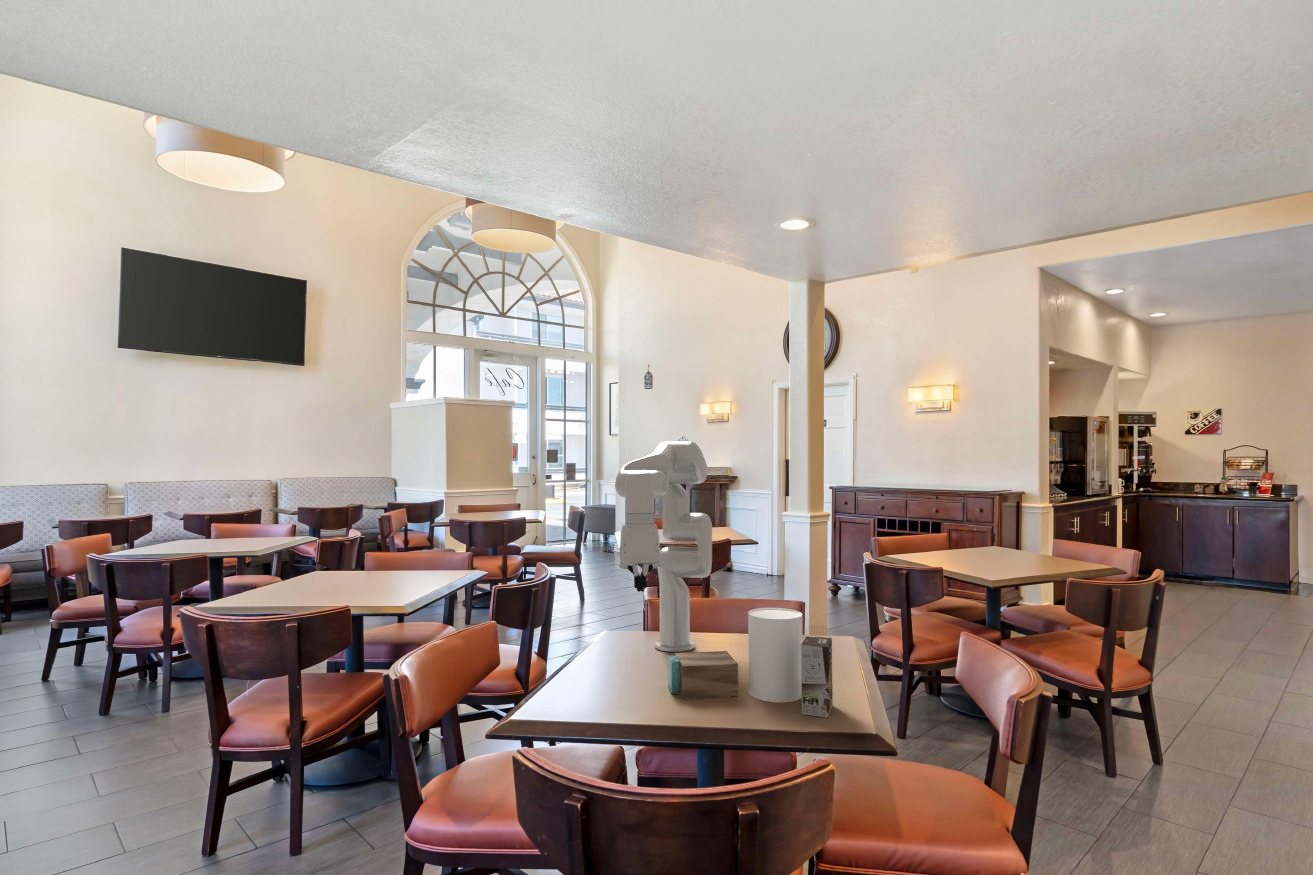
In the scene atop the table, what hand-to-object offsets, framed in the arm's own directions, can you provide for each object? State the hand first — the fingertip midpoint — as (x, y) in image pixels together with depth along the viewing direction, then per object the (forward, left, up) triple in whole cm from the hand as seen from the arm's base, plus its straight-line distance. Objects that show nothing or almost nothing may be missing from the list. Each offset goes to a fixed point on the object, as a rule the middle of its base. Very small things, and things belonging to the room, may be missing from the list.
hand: (640, 590), depth 177 cm
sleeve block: (+3, +17, -25) cm, 30 cm away
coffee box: (+21, +39, -26) cm, 51 cm away
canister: (+8, +34, -26) cm, 43 cm away
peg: (+3, +14, -25) cm, 29 cm away
